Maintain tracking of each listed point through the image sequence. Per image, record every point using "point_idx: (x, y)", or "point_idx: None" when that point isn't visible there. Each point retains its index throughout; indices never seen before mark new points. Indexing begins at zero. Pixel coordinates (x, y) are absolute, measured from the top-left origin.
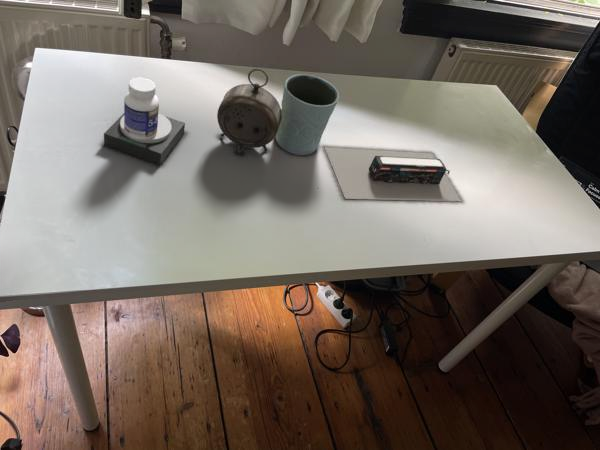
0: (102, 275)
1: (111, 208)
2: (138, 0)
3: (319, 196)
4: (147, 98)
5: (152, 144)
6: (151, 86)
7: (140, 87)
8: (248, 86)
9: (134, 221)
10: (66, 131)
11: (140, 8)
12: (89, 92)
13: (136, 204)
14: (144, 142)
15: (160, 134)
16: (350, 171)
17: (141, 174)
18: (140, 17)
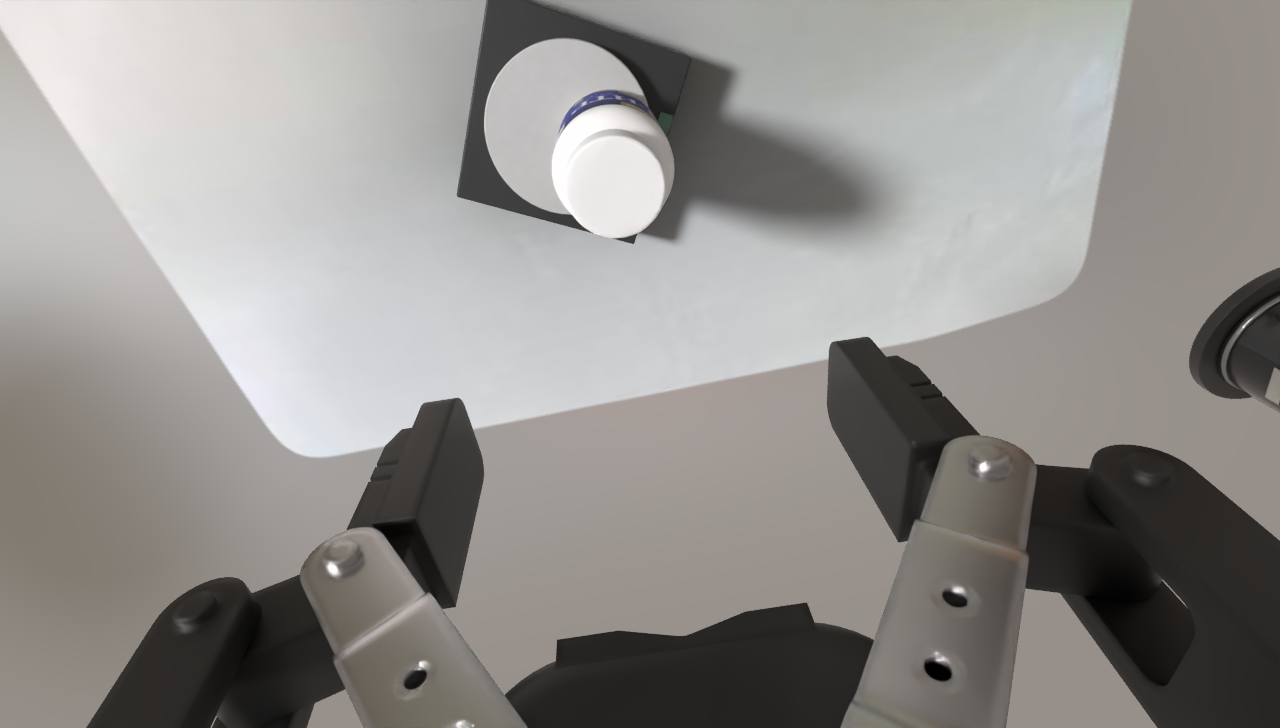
0: (1080, 133)
1: (872, 159)
2: (958, 416)
3: None
4: (656, 153)
5: (650, 94)
6: (619, 151)
7: (641, 192)
8: None
9: (921, 91)
10: (600, 325)
11: (889, 371)
12: (406, 320)
13: (858, 98)
14: None
15: (611, 74)
16: None
17: (736, 106)
18: (867, 340)
